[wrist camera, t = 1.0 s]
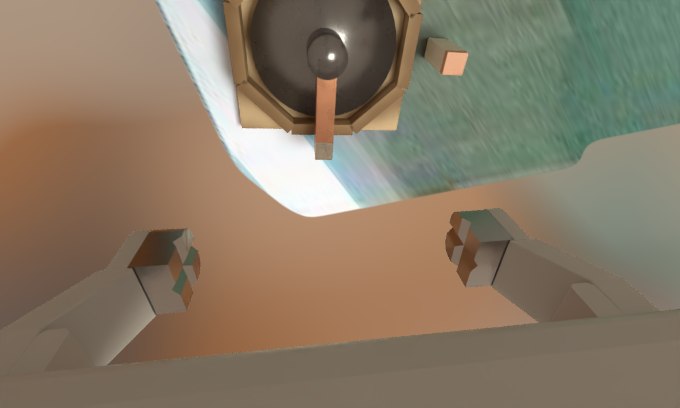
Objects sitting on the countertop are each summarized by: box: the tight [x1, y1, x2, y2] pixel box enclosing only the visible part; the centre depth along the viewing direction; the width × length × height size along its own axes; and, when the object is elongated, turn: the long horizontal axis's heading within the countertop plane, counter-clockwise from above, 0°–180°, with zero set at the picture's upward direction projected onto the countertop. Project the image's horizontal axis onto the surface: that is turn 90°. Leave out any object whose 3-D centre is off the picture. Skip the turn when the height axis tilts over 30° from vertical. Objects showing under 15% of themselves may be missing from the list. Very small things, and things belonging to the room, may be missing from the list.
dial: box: [250, 0, 396, 160], centre depth 38 cm, size 21×17×6 cm
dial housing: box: [223, 0, 423, 135], centre depth 38 cm, size 22×22×3 cm
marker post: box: [424, 38, 468, 75], centre depth 39 cm, size 2×2×7 cm
